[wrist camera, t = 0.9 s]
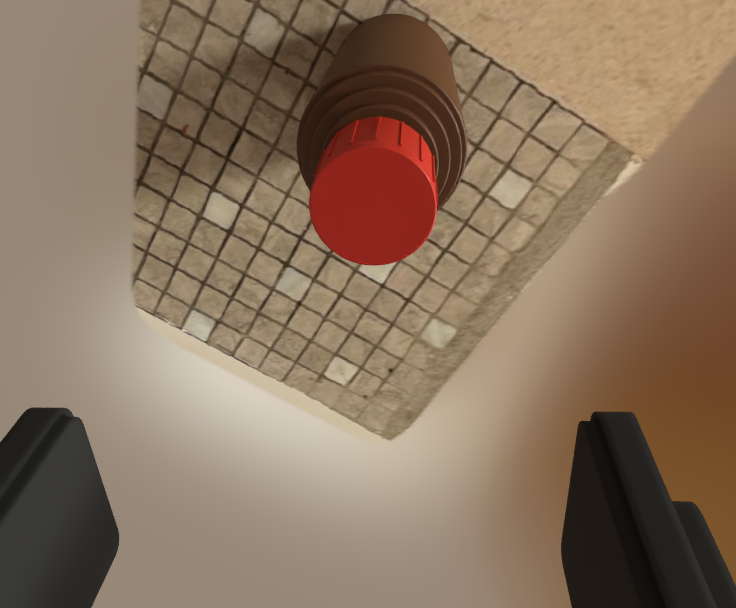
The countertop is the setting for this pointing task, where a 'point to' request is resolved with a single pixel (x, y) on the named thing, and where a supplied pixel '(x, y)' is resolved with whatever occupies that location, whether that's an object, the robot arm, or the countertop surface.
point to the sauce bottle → (390, 95)
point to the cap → (374, 192)
